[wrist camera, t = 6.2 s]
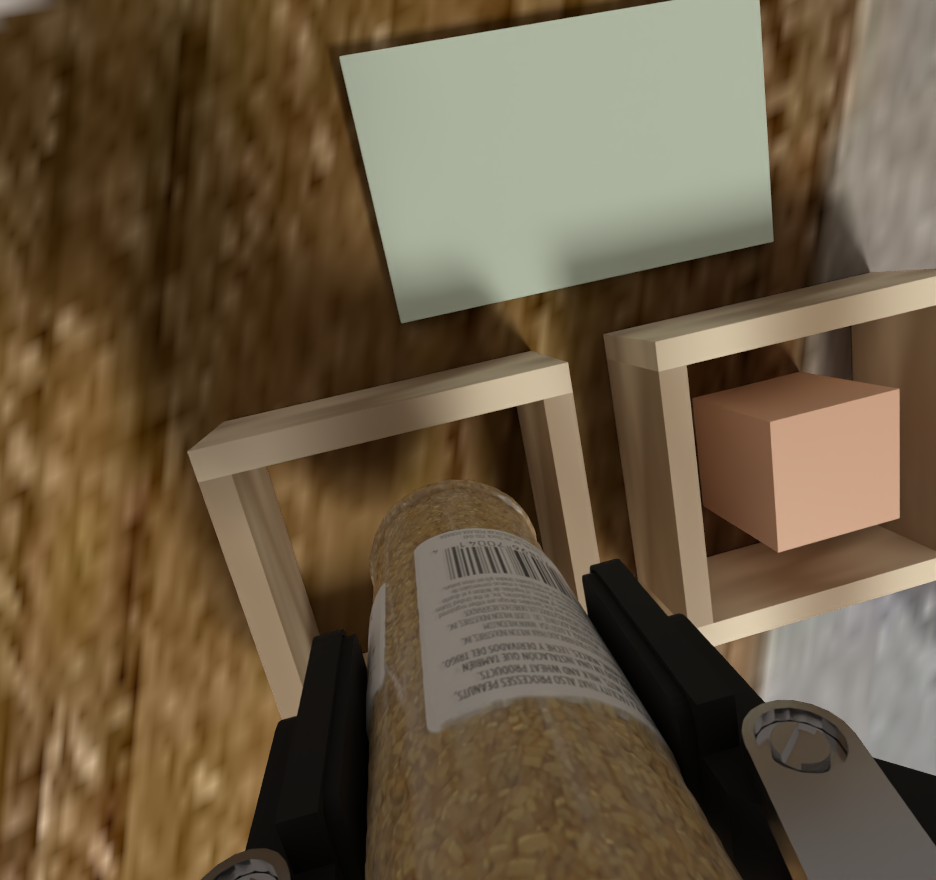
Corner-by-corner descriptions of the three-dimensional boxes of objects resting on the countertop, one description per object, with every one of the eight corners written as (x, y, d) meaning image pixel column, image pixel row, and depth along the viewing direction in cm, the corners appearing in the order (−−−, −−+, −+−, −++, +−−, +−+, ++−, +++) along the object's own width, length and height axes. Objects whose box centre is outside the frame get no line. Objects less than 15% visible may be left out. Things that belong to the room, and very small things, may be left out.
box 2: (871, 272, 19) (976, 266, 16) (875, 529, 22) (966, 571, 19) (603, 334, 18) (655, 341, 15) (640, 596, 21) (691, 652, 18)
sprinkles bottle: (338, 582, 15) (84, 2121, 2) (429, 441, 15) (733, 1522, 2) (479, 652, 16) (811, 1956, 4) (570, 524, 16) (1369, 1554, 3)
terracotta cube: (797, 371, 20) (899, 388, 16) (802, 478, 21) (899, 518, 17) (691, 397, 20) (769, 422, 16) (701, 505, 21) (778, 552, 17)
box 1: (531, 350, 18) (567, 362, 15) (577, 613, 21) (617, 674, 17) (223, 421, 17) (187, 451, 14) (311, 689, 20) (299, 769, 16)
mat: (749, -7, 17) (758, -14, 16) (765, 242, 18) (773, 241, 18) (339, 62, 15) (339, 56, 15) (401, 322, 17) (401, 323, 17)
